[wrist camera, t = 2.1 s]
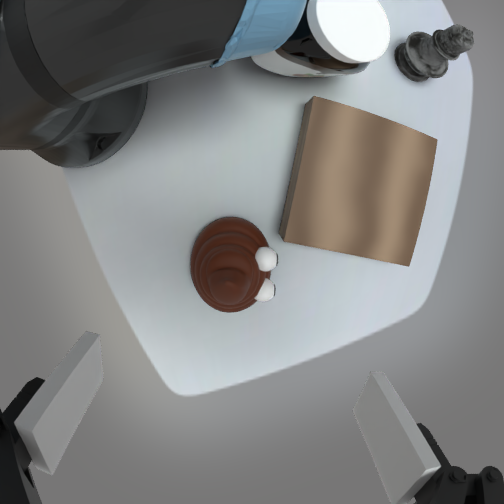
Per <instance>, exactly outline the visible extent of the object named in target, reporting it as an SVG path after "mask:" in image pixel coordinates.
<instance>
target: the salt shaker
mask: <svg viewBox="0 0 504 504" xmlns="http://www.w3.org/2000/svg"><path fill="white" fill-rule="evenodd" d="M472 36H473V32H472V31H470V30H468V29H466V28H465V27H463V26H461V25H458V24H457V25H453V26H451V27H449V28H447V29H445V30H436V31H435V32H434V33H433V36H431V35H429V34H427V33H424V32H414V33H412V34H411V35H409V36H408V38H407V41H406V43H403V44H400V45H399V46H398V47H397V49H396V51H395V60H396V63H397V66H398V67H399V69H400V71H401V72H402V73H403V74H404V75H405V76H406V77H408V78H409V79H411V80H413V81H417V82H422V81H425V80H427V79H428V78H429V77H432V78H439V77H442V76H443V75H444V74H445V73H446V72H447V70H448V60H456V59H457V58H458V57H459V55H460V54H461V53H463V52H465V51H467V50H470V49H471V48H472V47H473V44H474V40H473V37H472Z"/></svg>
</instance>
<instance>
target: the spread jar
mask: <svg viewBox="0 0 504 504" xmlns="http://www.w3.org/2000/svg"><path fill="white" fill-rule="evenodd" d="M389 40H390V26H389V22H388V18H387V16H386V13H385V11H384V9H383V8H382V6H381V4H380V3H379V2H378V0H307V2H306V5H305V9H304V12H303V15H302V17H301V20H300V22H299V24H298V26H297V28H296V30H295V31H294V32H293V34H292V35H291V36H290V37H289V38H288V39H287V41H286V42H285V43H284V44H282V45H281V46H280V47H279V48H277V49H276V50H274V51H271V52H269V53H265V54H260V55H255V56H251V58H252V60H253V61H254V62H255V63H256V64H257V65H258V66H260V67H262V68H264V69H266V70H268V71H271V72H273V73H277V74H280V75H285V76H292V77H329V76H338V75H348V74H355V73H359V72H361V71H363V70H365V69H366V68H367V66H368V65H369V63H370V61H374V60H376V59H378V58H379V57H381V56H382V55H383V54H384V53H385V51H386V49H387V47H388V44H389Z"/></svg>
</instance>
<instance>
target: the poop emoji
mask: <svg viewBox="0 0 504 504" xmlns="http://www.w3.org/2000/svg"><path fill="white" fill-rule="evenodd" d="M277 264H278V255H277V253H276V252H275V251H274V250H273V249H271V248H269V246H268V243H267V241H266V239H265V237H264V235H263V234H262V232H261V231H260V230H259V229H258V228H257V227H256V226H255V225H254V224H252V223H251V222H249V221H247V220H245V219H242V218H237V217H226V218H221V219H218V220H216V221H214V222H212V223H210V224H209V225H208V226H207V227H206V228H205V229H204V230H203V231H202V232H201V233H200V235H199V236H198V238H197V240H196V242H195V244H194V247H193V250H192V254H191V264H190V265H191V277H192V280H193V283H194V286H195V288H196V290H197V292H198V294H199V295H200V297H201V298H202V299H203V300H204V301H205V302H206V303H207V304H208V305H209V306H211V307H212V308H214V309H216V310H219V311H222V312H238V311H242V310H244V309H246V308H248V307H250V306H251V305H253V304H254V303H255V302H256V301H260V302H266V301H269V300H270V299H272V298H273V296H274V295H275V285H274V284H273V282H272V281H271V280H269V279H270V275H271V270H272V269H273V268H275V266H277Z"/></svg>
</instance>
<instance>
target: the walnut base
mask: <svg viewBox="0 0 504 504" xmlns="http://www.w3.org/2000/svg"><path fill="white" fill-rule="evenodd" d="M436 146H437V139H435V138H433V137H430V136H428V135H426V134H424V133H421V132H419V131H416V130H414V129H412V128H409V127H407V126H404V125H402V124H399V123H396V122H394V121H391V120H388V119H386V118H383V117H380V116H377V115H375V114H372V113H369V112H366V111H363V110H360V109H357V108H354V107H351V106H347V105H344V104H341V103H338V102H334V101H331V100H327V99H324V98H320V97H316V96H313V97H312V98H311V99H310V100H309V101H308V102H307V103H306V104H305V109H304V114H303V119H302V124H301V129H300V134H299V139H298V144H297V149H296V154H295V159H294V164H293V169H292V174H291V178H290V183H289V188H288V193H287V197H286V202H285V207H284V211H283V216H282V221H281V225H280V230H279V234H280V236H281V238H282V239H283V241H284V242H289V243H294V244H299V245H304V246H310V247H315V248H320V249H325V250H330V251H335V252H340V253H345V254H350V255H355V256H360V257H365V258H370V259H375V260H380V261H385V262H389V263H394V264H399V265H404V266H409V265H410V262H411V259H412V255H413V252H414V248H415V245H416V241H417V237H418V233H419V229H420V226H421V222H422V217H423V213H424V209H425V205H426V200H427V195H428V191H429V186H430V181H431V176H432V170H433V165H434V159H435V153H436Z"/></svg>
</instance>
